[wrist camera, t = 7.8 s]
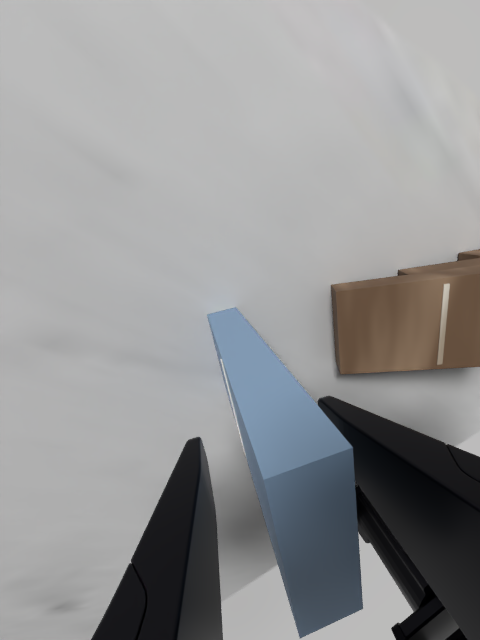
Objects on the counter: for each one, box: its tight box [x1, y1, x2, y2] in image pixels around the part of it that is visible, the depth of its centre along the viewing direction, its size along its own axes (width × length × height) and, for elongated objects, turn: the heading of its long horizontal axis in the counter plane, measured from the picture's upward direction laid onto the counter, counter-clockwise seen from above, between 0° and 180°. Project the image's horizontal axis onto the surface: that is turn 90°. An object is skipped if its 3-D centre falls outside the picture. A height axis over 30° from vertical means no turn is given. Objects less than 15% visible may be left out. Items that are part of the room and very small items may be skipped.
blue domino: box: [207, 307, 363, 638], centre depth 10 cm, size 2×5×10 cm, turn 12°
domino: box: [331, 265, 480, 374], centre depth 13 cm, size 2×5×10 cm
